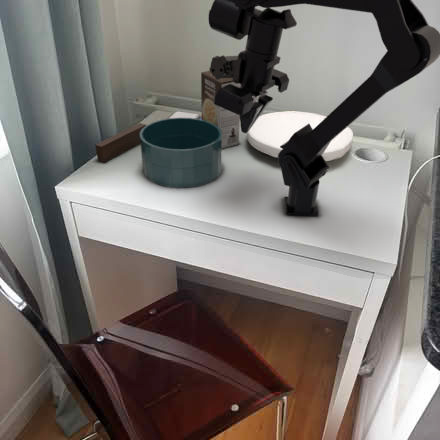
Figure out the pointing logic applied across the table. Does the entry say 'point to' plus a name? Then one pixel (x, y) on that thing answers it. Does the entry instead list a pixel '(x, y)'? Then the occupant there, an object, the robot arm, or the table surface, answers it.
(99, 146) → the back rail
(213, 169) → the bowl
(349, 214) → the table surface
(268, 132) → the plate
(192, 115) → the smartphone
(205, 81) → the coffee box
